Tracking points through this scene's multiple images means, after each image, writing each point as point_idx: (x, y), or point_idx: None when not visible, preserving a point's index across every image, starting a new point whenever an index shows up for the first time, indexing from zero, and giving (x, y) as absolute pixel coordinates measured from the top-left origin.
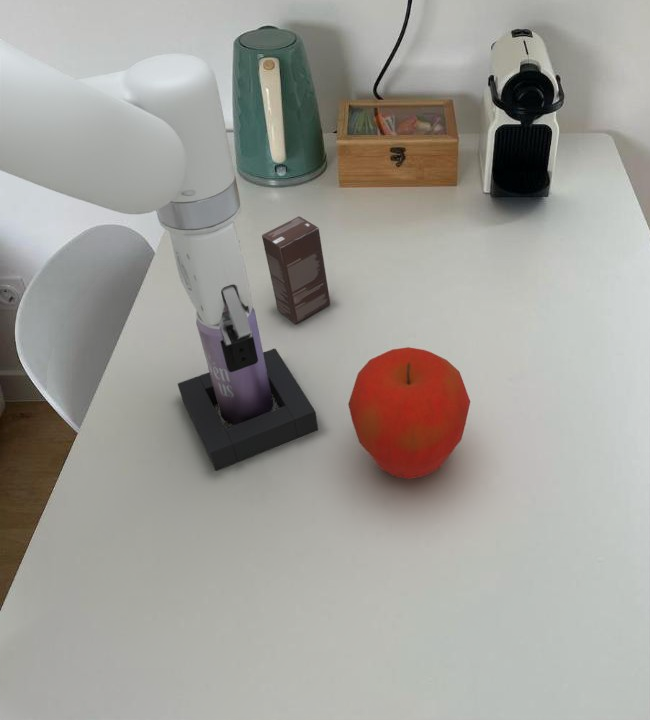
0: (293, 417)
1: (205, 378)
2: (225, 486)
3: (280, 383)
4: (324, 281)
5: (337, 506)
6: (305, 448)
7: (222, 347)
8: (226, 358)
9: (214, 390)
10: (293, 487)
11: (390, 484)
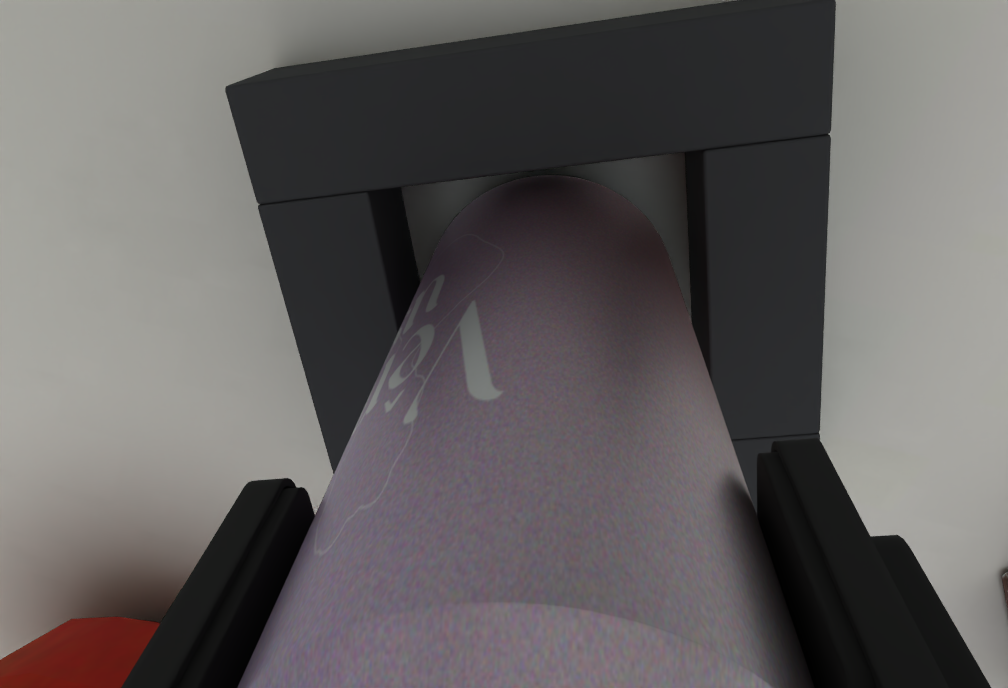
0: None
1: (785, 169)
2: (179, 93)
3: None
4: None
5: (25, 437)
6: (302, 420)
7: (145, 672)
8: (196, 577)
9: (532, 230)
10: (127, 336)
11: (91, 587)
